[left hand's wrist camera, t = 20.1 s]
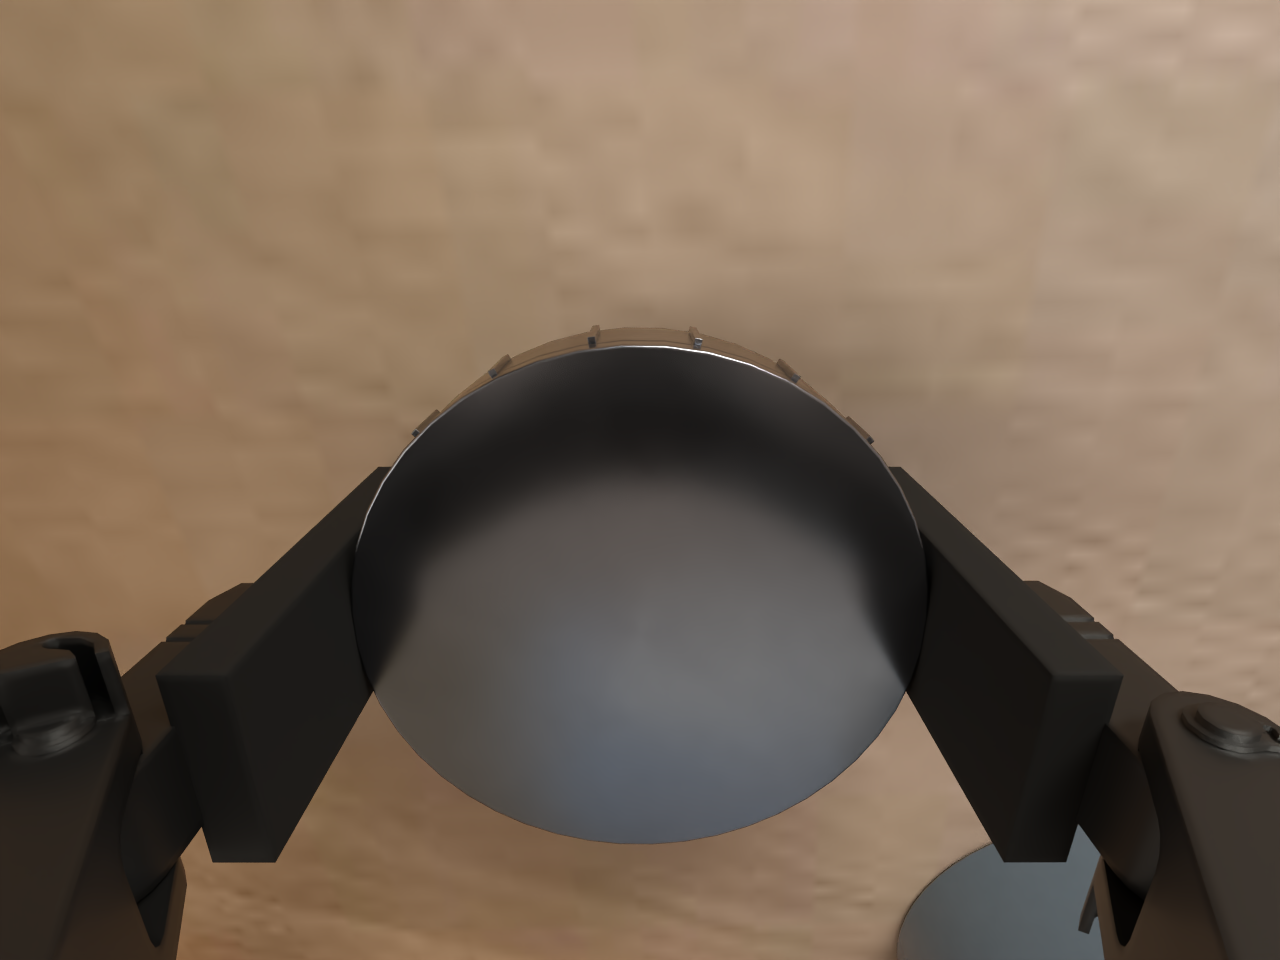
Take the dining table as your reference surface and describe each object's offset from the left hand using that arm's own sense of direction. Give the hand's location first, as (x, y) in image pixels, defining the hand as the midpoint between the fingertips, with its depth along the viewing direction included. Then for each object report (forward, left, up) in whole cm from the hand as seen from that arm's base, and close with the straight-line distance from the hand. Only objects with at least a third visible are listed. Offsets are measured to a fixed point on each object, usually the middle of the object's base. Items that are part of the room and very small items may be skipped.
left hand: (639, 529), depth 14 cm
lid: (0, 0, +3) cm, 3 cm away
